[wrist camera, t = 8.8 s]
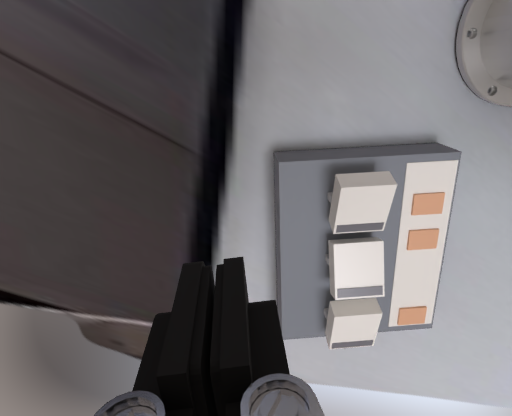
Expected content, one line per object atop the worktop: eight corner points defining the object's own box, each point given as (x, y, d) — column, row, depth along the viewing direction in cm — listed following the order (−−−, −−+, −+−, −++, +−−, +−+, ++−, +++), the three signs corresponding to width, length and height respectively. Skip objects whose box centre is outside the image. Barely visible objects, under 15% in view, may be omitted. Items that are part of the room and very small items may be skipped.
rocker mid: (375, 236, 33) (384, 241, 31) (376, 289, 34) (384, 296, 32) (328, 240, 33) (333, 244, 31) (330, 293, 34) (335, 300, 32)
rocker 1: (389, 170, 29) (397, 185, 28) (376, 216, 33) (383, 231, 31) (335, 174, 29) (341, 188, 28) (328, 219, 33) (333, 234, 31)
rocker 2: (375, 297, 34) (383, 314, 33) (367, 330, 37) (373, 346, 36) (329, 301, 34) (334, 317, 33) (325, 333, 37) (329, 350, 36)
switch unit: (437, 142, 35) (468, 154, 31) (414, 304, 42) (436, 334, 38) (273, 151, 35) (280, 165, 30) (277, 315, 42) (283, 346, 37)
